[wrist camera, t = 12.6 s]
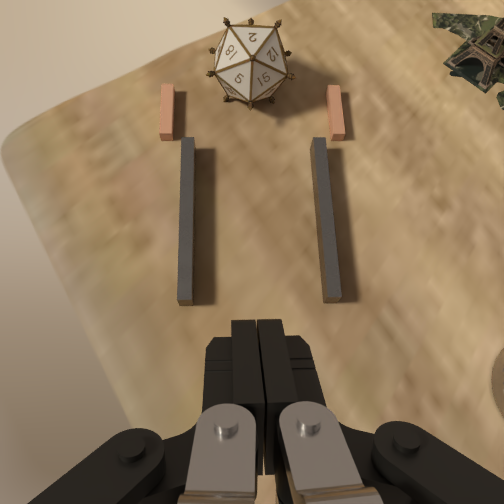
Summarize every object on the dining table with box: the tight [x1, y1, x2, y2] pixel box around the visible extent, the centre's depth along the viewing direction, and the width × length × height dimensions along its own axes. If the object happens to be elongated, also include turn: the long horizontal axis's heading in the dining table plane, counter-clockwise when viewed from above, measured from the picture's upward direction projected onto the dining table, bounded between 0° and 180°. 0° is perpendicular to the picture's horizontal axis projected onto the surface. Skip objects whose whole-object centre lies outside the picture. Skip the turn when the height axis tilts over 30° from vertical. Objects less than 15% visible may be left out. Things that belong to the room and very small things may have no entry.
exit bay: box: [159, 84, 345, 141], centre depth 47 cm, size 18×6×1 cm, turn 92°
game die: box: [206, 17, 296, 111], centre depth 45 cm, size 9×8×10 cm
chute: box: [177, 137, 342, 306], centre depth 43 cm, size 14×16×2 cm
